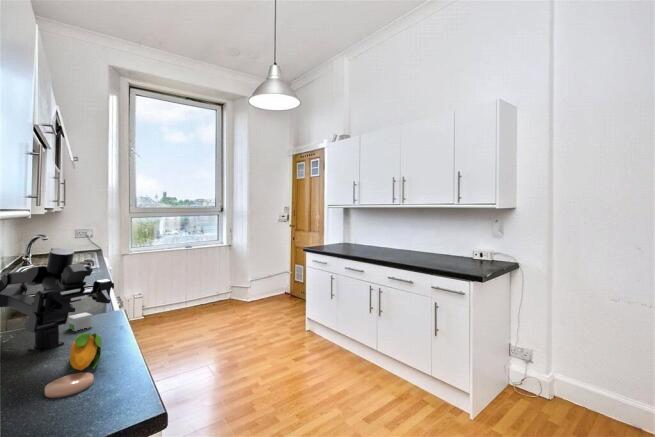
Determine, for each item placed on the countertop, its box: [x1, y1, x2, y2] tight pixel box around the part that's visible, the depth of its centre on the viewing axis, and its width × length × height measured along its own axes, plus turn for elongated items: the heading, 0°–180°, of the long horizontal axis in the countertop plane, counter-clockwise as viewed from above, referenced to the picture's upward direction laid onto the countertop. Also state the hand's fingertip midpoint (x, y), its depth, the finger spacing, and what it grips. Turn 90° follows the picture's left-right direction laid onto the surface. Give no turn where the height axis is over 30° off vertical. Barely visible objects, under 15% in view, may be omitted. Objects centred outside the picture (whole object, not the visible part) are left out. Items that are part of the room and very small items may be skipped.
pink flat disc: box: [44, 372, 95, 399], centre depth 74 cm, size 9×9×1 cm
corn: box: [68, 332, 103, 371], centre depth 86 cm, size 7×8×20 cm
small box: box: [67, 311, 94, 332], centre depth 114 cm, size 6×6×5 cm
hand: (92, 305), depth 88 cm, fingers open, 9 cm apart
